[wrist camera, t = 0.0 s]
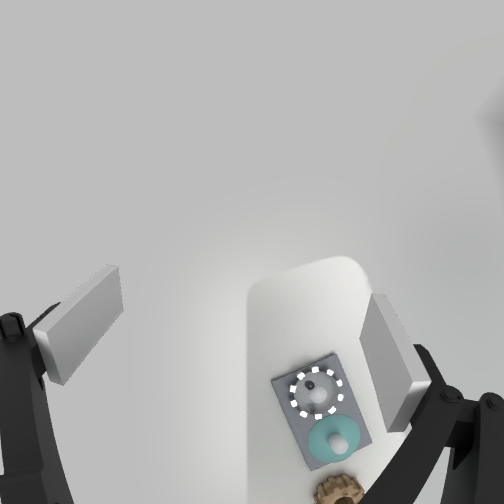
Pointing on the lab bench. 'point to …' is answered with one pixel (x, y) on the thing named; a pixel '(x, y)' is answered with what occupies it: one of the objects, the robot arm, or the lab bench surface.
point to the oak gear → (339, 491)
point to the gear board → (325, 419)
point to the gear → (308, 383)
